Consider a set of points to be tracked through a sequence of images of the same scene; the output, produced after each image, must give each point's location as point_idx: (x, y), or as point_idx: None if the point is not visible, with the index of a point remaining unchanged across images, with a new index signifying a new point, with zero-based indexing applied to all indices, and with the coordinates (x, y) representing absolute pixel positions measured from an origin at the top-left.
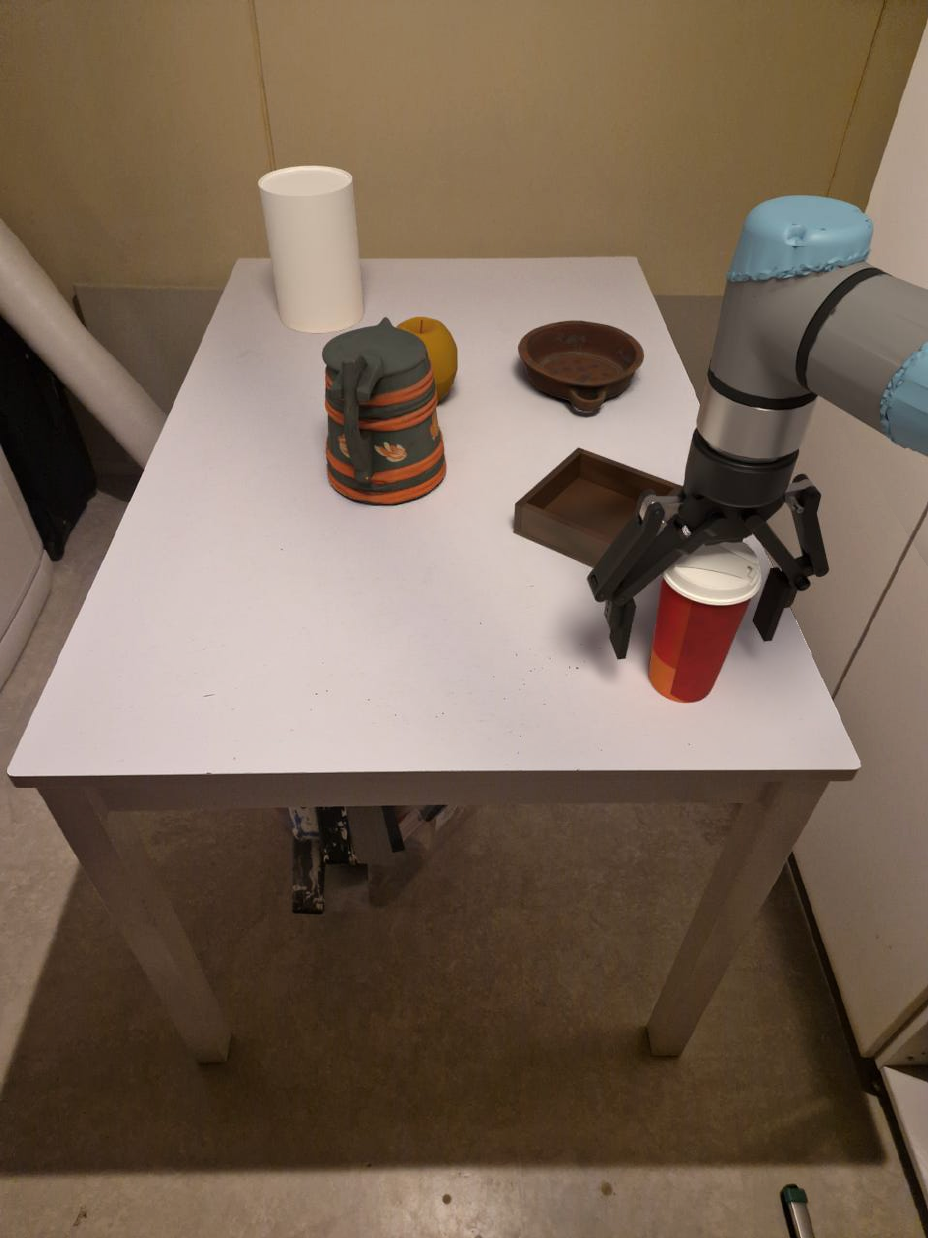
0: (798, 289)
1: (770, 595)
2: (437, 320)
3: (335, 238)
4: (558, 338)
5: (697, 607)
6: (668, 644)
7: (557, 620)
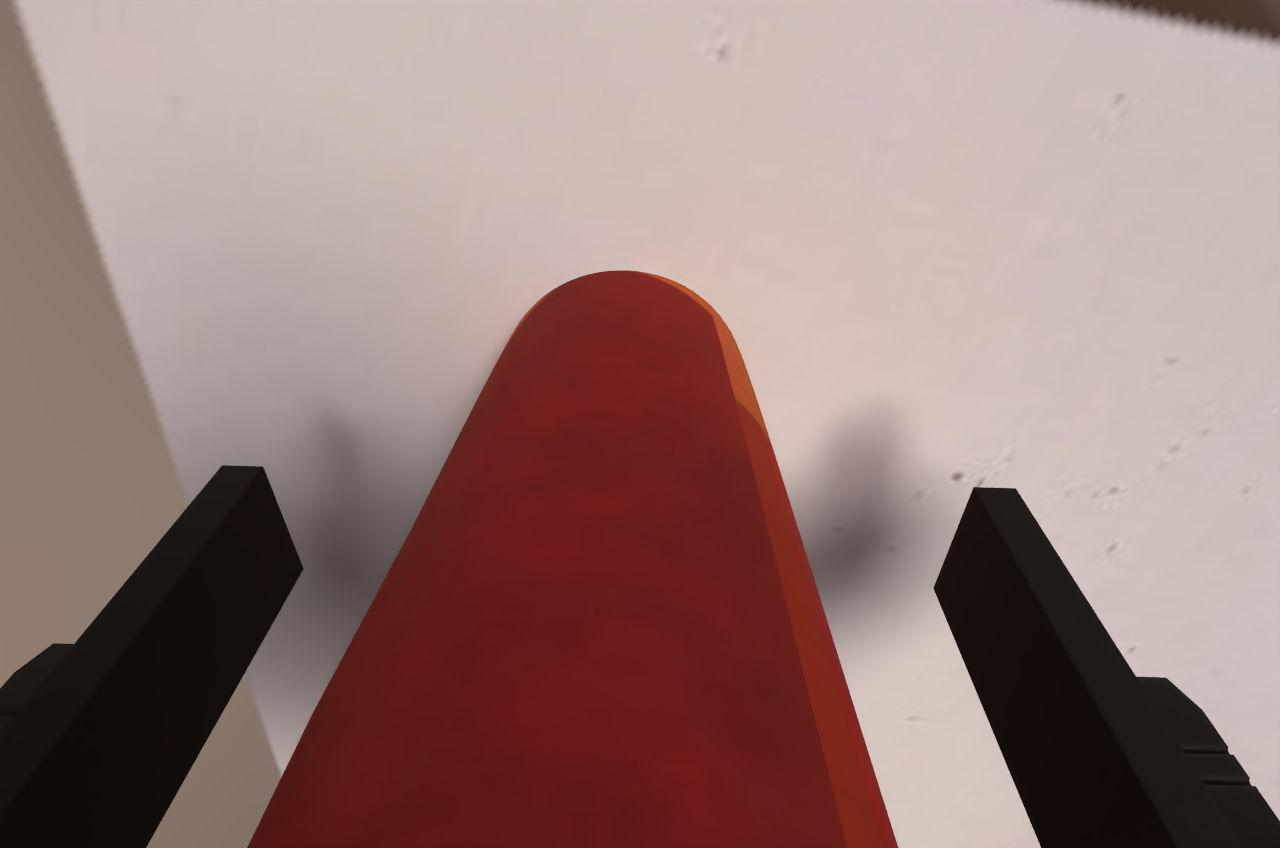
0: None
1: (143, 742)
2: None
3: None
4: None
5: None
6: (796, 531)
7: (909, 627)
